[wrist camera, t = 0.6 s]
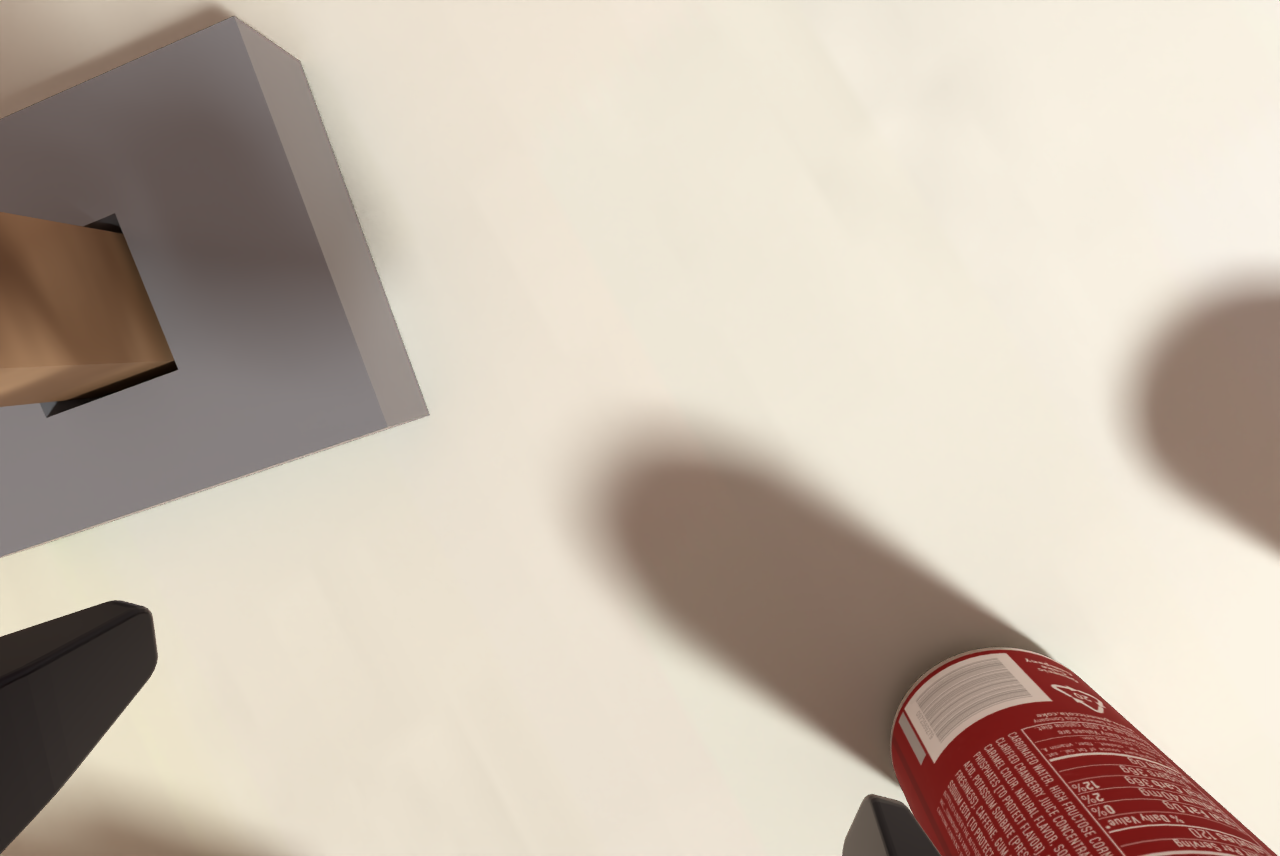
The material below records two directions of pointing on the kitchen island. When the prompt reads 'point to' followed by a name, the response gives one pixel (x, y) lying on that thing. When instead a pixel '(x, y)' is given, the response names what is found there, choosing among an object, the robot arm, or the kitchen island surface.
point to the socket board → (201, 284)
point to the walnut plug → (73, 314)
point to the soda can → (1044, 768)
